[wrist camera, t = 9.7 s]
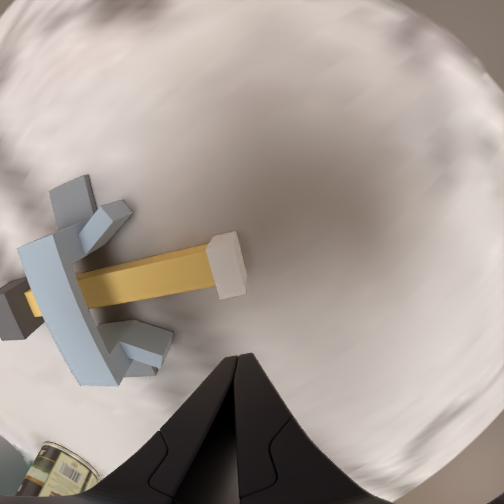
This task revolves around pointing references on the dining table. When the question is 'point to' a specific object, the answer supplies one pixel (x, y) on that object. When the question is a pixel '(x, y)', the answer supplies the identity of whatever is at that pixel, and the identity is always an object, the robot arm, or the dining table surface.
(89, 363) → the blue-grey bracket
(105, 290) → the yellow handled hammer
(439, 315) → the dining table surface
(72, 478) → the coffee can
